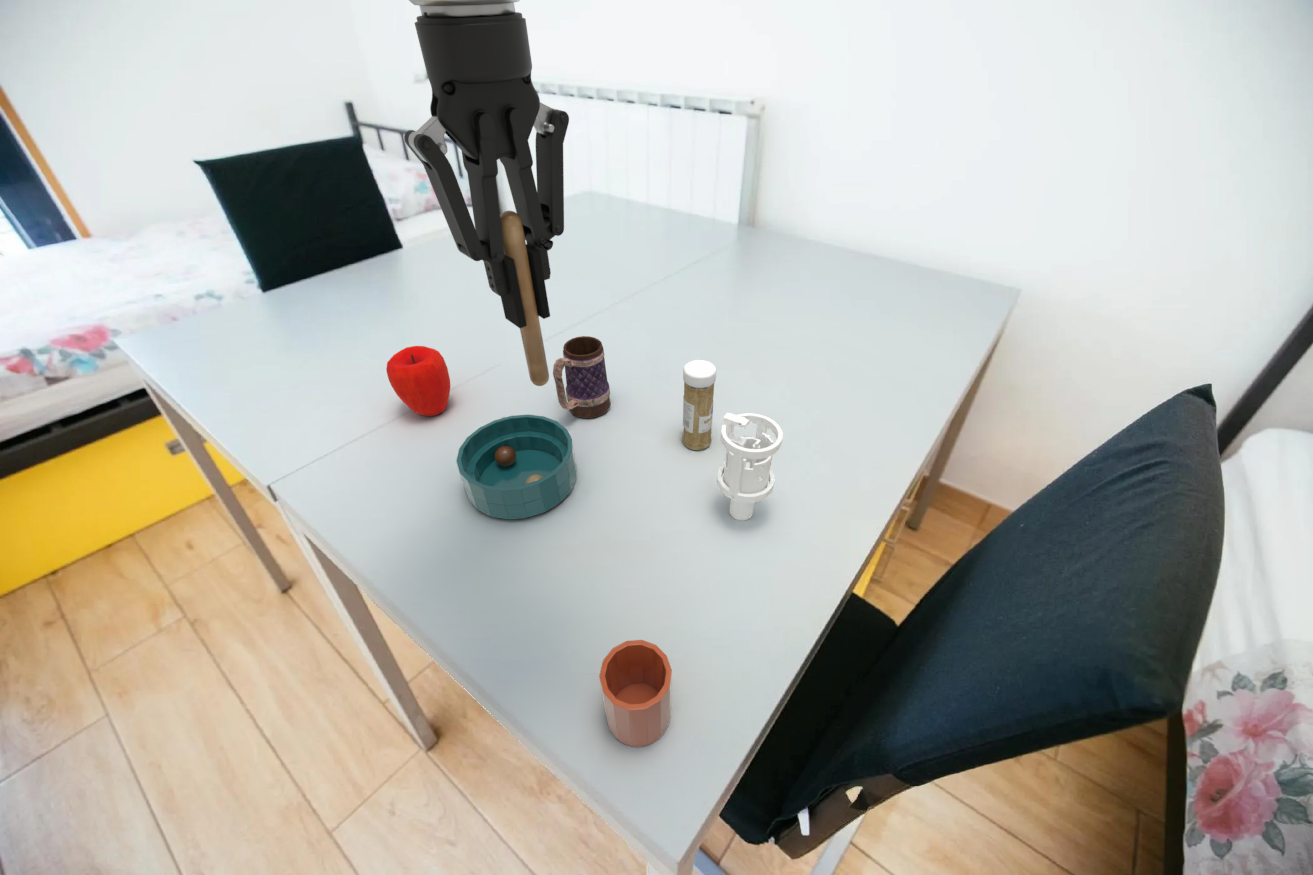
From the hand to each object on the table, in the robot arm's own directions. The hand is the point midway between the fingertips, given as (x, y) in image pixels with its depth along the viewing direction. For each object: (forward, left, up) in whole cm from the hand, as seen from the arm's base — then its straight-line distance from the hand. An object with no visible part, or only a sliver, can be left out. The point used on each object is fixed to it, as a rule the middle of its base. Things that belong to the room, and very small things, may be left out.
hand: (527, 317), depth 53 cm
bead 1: (0, +13, -27) cm, 30 cm away
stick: (0, 0, -8) cm, 8 cm away
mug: (+16, +16, -29) cm, 37 cm away
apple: (-2, +34, -29) cm, 45 cm away
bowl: (0, +9, -29) cm, 31 cm away
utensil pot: (-9, -26, -29) cm, 40 cm away
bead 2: (0, +5, -27) cm, 28 cm away
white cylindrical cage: (+18, -16, -29) cm, 38 cm away
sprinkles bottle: (+24, -2, -29) cm, 38 cm away
